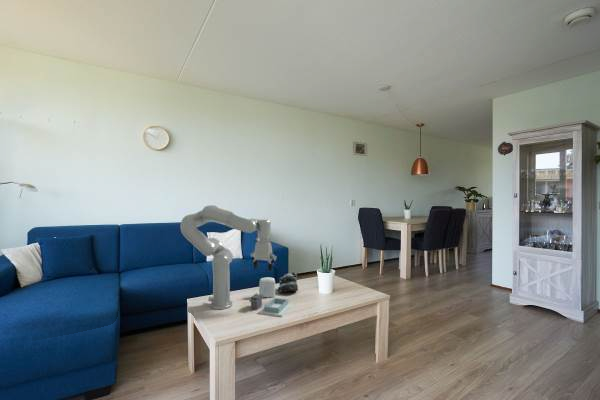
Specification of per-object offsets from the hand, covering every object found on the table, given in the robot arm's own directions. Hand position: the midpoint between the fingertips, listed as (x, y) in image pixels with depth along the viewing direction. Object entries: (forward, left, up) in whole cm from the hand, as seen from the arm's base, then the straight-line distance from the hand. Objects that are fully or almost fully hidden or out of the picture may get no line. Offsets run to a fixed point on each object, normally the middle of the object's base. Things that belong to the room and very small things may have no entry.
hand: (262, 269), depth 171 cm
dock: (+10, -2, -22) cm, 24 cm away
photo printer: (-4, +15, -22) cm, 27 cm away
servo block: (-2, -4, -22) cm, 22 cm away
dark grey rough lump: (+5, +28, -22) cm, 36 cm away
